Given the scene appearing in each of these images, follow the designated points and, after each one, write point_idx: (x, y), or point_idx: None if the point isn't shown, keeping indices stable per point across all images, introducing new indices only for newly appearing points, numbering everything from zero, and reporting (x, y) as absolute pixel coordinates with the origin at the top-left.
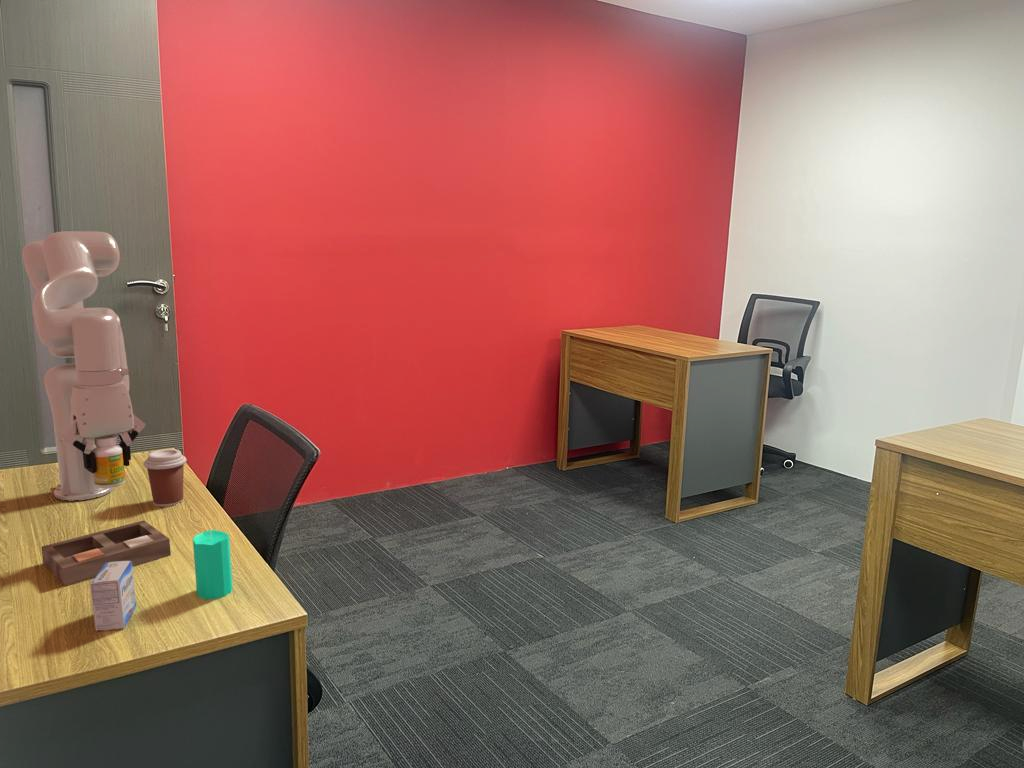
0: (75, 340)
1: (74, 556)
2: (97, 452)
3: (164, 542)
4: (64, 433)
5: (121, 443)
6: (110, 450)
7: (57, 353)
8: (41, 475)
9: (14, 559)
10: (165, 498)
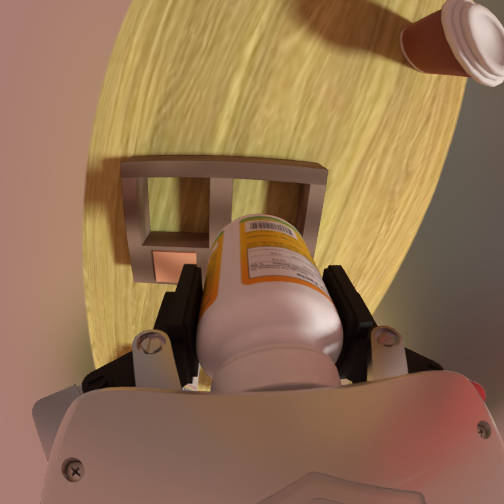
0: None
1: (154, 259)
2: (211, 378)
3: None
4: (40, 435)
5: (352, 359)
6: None
7: None
8: None
9: (104, 105)
10: (419, 63)
